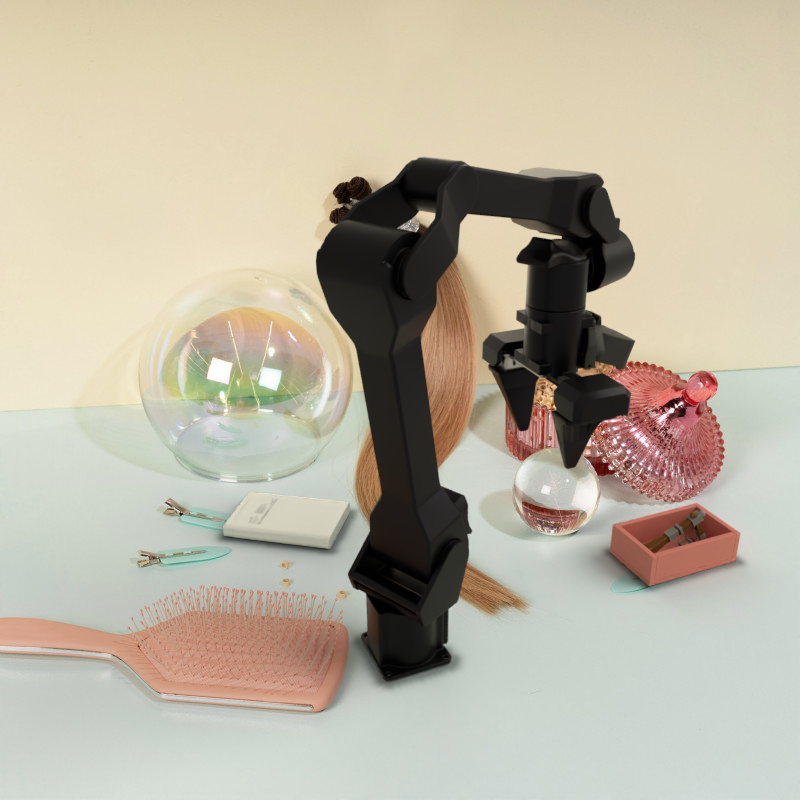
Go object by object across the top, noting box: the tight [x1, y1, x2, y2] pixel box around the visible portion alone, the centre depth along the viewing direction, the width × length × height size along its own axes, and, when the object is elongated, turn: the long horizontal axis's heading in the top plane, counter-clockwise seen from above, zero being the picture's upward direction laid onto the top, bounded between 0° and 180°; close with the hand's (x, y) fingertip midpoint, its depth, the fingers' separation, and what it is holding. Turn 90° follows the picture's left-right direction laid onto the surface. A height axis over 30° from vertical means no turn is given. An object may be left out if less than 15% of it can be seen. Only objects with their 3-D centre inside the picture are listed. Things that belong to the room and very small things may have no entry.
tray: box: [609, 502, 741, 587], centre depth 89 cm, size 11×7×4 cm, turn 113°
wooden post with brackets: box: [643, 510, 706, 553], centre depth 89 cm, size 2×8×4 cm, turn 110°
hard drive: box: [222, 491, 351, 550], centre depth 96 cm, size 2×8×12 cm
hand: (545, 448), depth 87 cm, fingers open, 9 cm apart
